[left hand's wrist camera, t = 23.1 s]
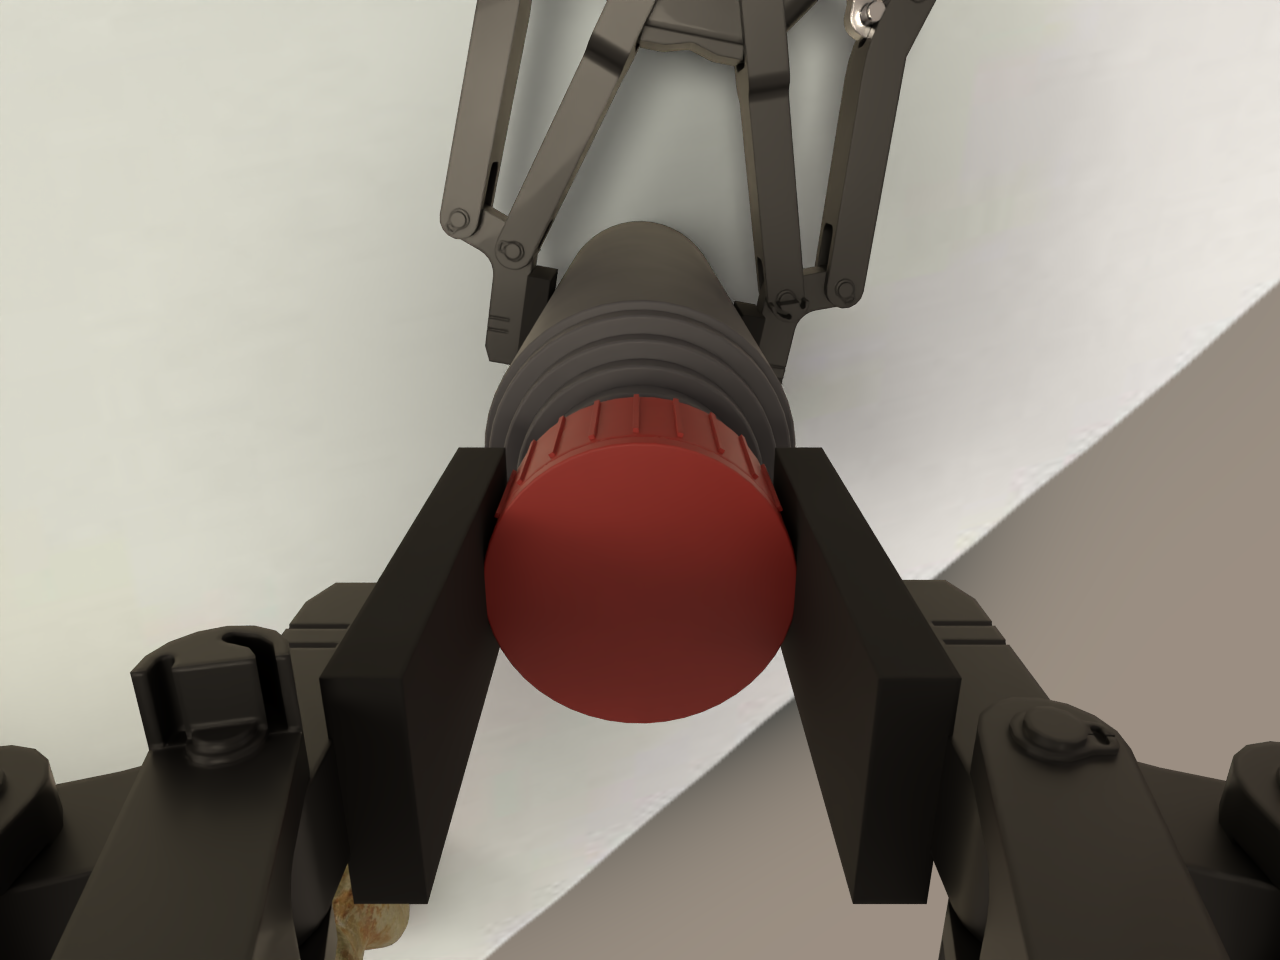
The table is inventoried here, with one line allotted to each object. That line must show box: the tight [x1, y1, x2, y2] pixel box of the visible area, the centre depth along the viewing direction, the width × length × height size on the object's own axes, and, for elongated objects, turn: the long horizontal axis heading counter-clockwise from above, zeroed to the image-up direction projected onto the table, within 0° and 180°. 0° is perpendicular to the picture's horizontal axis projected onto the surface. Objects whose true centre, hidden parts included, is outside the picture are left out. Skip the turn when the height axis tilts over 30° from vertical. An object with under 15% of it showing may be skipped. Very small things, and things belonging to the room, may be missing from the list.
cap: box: [484, 394, 797, 723], centre depth 13 cm, size 4×5×2 cm
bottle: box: [485, 221, 795, 484], centre depth 24 cm, size 6×6×24 cm
